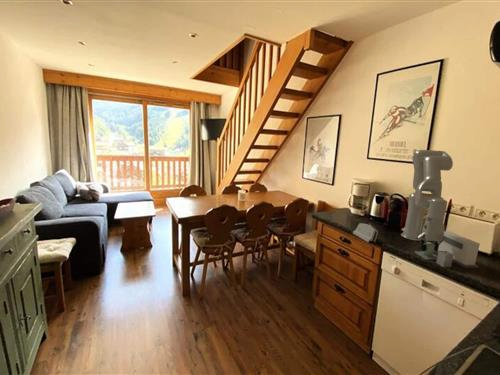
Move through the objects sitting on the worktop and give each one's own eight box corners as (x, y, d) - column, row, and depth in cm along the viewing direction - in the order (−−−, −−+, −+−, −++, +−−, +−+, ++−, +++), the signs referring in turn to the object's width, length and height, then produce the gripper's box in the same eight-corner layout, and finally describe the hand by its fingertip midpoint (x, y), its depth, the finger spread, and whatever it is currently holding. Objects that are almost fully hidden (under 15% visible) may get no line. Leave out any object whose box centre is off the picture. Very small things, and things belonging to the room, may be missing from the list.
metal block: (436, 262, 134) (438, 250, 132) (443, 262, 134) (446, 250, 133) (443, 266, 129) (445, 254, 128) (450, 267, 130) (453, 254, 128)
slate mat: (414, 252, 145) (414, 251, 145) (428, 252, 146) (429, 251, 146) (426, 259, 137) (426, 258, 136) (441, 260, 137) (441, 258, 137)
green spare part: (427, 256, 139) (429, 244, 138) (421, 253, 143) (423, 241, 142) (434, 256, 139) (436, 245, 138) (428, 253, 144) (430, 241, 142)
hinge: (352, 232, 173) (358, 220, 172) (357, 234, 174) (363, 222, 173) (368, 242, 157) (375, 228, 156) (374, 244, 158) (380, 230, 157)
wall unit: (433, 251, 149) (437, 230, 147) (445, 251, 150) (449, 230, 147) (464, 267, 129) (469, 244, 127) (477, 267, 130) (483, 244, 128)
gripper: (425, 222, 133) (419, 253, 136) (455, 223, 135) (448, 253, 138) (415, 218, 140) (410, 247, 144) (443, 218, 142) (437, 247, 145)
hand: (428, 250), depth 141 cm, fingers open, 6 cm apart
